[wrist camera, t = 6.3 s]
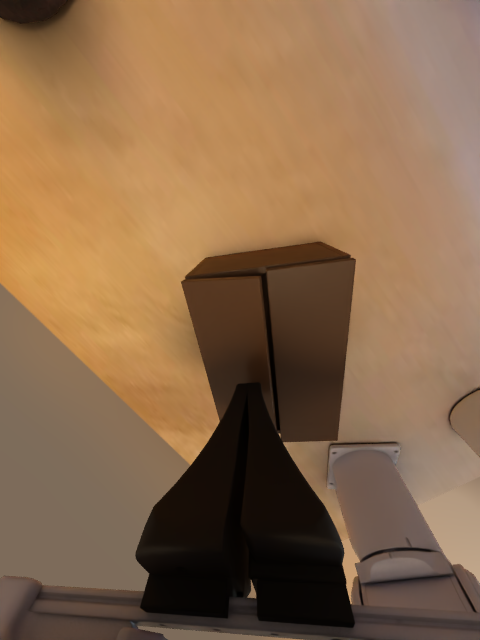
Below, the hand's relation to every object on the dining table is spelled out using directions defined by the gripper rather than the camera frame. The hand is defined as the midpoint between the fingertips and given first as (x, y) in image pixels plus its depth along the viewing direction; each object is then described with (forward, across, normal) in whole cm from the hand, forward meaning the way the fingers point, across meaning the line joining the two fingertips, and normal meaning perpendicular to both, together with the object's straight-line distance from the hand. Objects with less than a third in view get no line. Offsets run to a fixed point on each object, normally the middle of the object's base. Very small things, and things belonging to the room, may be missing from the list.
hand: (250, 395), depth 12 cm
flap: (+1, +1, 0) cm, 1 cm away
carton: (+8, -2, 0) cm, 8 cm away
